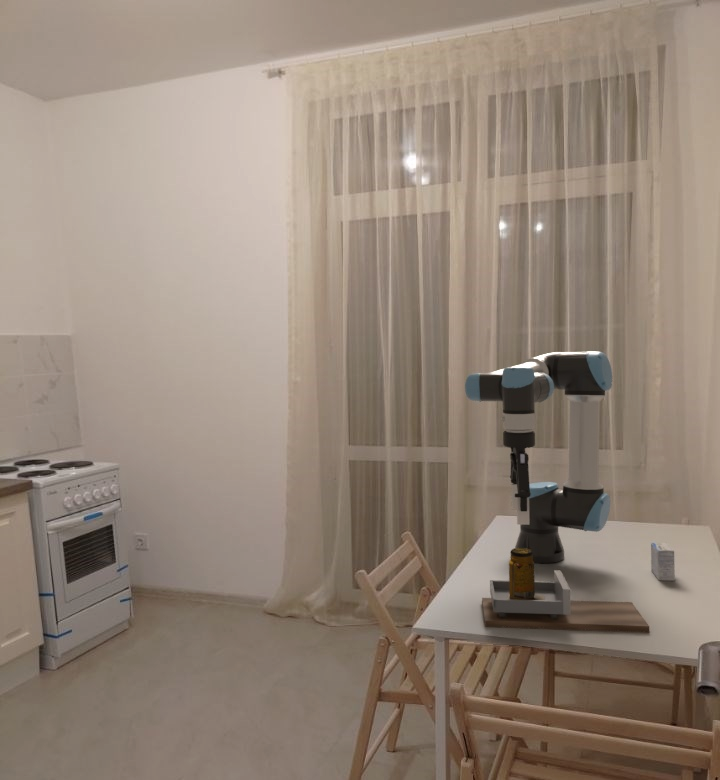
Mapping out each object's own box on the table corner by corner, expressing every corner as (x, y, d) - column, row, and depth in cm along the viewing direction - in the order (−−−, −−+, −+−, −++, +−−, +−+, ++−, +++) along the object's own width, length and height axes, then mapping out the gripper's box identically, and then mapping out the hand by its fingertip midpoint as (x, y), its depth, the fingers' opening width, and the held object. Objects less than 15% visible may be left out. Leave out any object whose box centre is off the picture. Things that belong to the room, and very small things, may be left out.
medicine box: (675, 581, 175) (675, 551, 174) (657, 580, 176) (657, 550, 175) (667, 571, 183) (667, 542, 182) (650, 571, 183) (650, 542, 183)
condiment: (510, 591, 159) (510, 545, 158) (545, 595, 155) (544, 548, 155) (505, 602, 152) (504, 553, 152) (541, 607, 149) (540, 557, 148)
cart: (490, 597, 162) (489, 568, 161) (560, 599, 159) (560, 570, 159) (493, 618, 149) (493, 587, 149) (570, 621, 147) (570, 589, 146)
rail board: (482, 603, 163) (482, 597, 163) (631, 608, 158) (631, 602, 157) (485, 626, 149) (485, 620, 149) (649, 632, 144) (649, 626, 144)
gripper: (498, 424, 165) (500, 503, 166) (507, 437, 140) (509, 530, 142) (528, 423, 164) (529, 503, 165) (542, 437, 139) (543, 531, 141)
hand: (520, 516), depth 153 cm, fingers open, 13 cm apart
